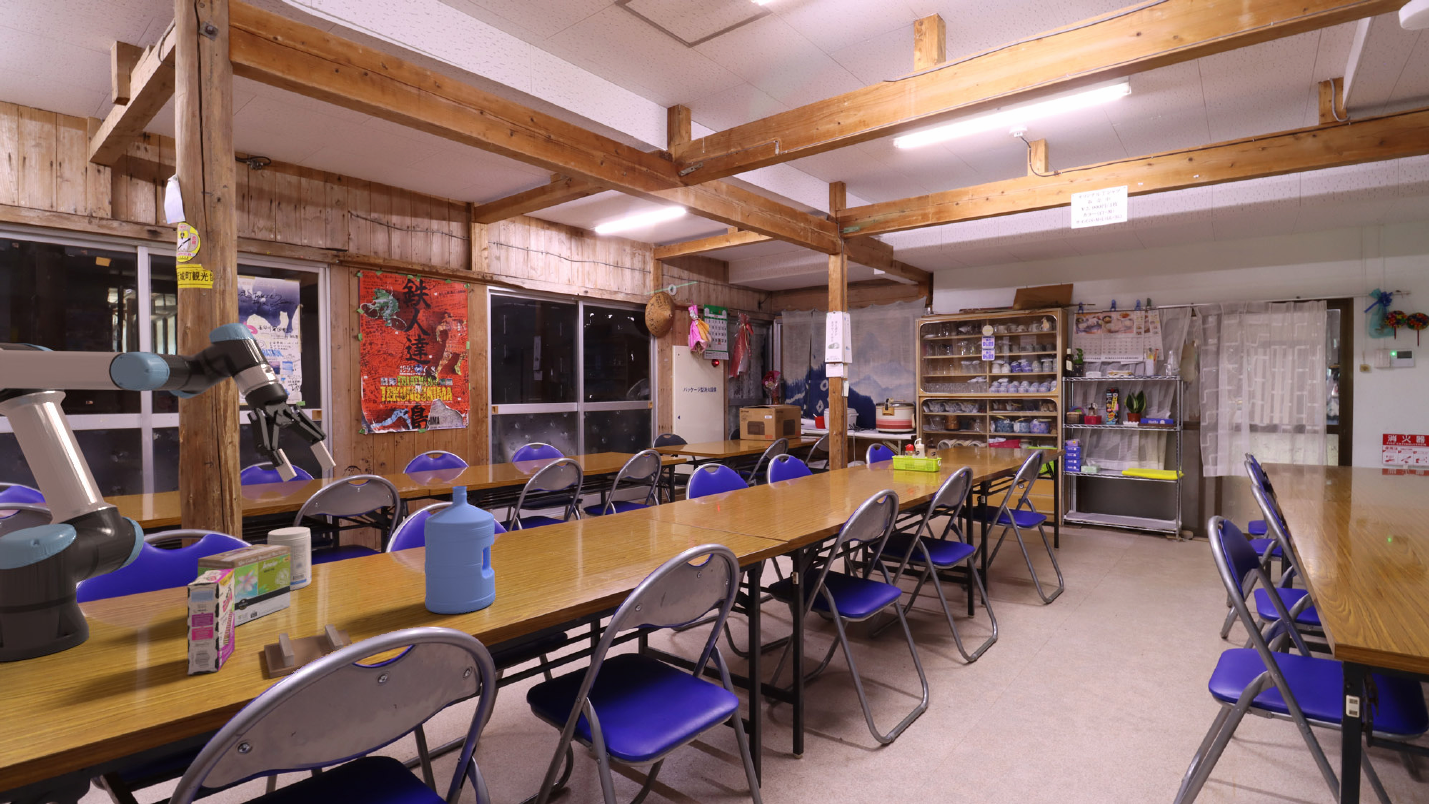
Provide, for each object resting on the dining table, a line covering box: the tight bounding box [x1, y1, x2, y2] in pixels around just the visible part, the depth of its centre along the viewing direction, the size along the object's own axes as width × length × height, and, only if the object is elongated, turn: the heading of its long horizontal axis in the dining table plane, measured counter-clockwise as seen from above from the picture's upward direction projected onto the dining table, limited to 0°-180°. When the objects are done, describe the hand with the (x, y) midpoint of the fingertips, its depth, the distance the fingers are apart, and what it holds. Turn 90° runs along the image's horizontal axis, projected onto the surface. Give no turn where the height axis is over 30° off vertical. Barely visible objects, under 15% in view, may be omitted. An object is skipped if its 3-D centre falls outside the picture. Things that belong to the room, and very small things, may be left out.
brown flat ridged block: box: [263, 623, 353, 679], centre depth 128 cm, size 14×16×3 cm
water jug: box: [423, 485, 496, 615], centre depth 157 cm, size 16×16×28 cm
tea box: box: [197, 543, 291, 627], centre depth 150 cm, size 15×10×15 cm
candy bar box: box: [186, 569, 236, 676], centre depth 124 cm, size 11×5×16 cm, turn 23°
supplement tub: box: [266, 526, 312, 591], centre depth 172 cm, size 10×10×15 cm
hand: (311, 473), depth 146 cm, fingers open, 13 cm apart
